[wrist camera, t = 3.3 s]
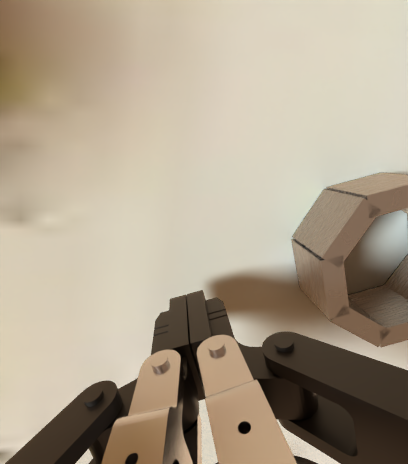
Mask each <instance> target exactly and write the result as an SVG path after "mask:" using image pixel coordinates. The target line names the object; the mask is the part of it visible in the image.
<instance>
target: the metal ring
mask: <svg viewBox="0 0 408 464" xmlns="http://www.w3.org/2000/svg"><path fill="white" fill-rule="evenodd" d="M398 210H403V211H404V212H405V213H407V219H408V175H403V174H391V173H378V174H374V175H370V176H366V177H363V178H359V179H355V180H351V181H348V182H344V183H340V184H336V185H333V186H329V187H327V190H326V189H324V190H323V191H322V193H321V194H320V196H319V197H318V199H317V200H316V202H315V203H314V205H313V206H312V208H311V209H310V211H309V212H308V214H307V215H306V217H305V218H304V220H303V221H302V223H301V224H300V226H299V227H298V229H297V230H296V232H295V233H294V235H293V236H292V237H293V238H295V239H291V240H292V246H293V252H294V257H295V263H296V269H297V275H298V280H299V286H300V288H301V290H302V291H303V292H304V293H305V294H306V295H307V296H308V297H309V299H310V300H311V301H312V302H313V303H314V304H315V305H316V306H317V307H318V308H319V309H320V310H321V311H322V313H323V314H324V315H325V316H326V317H327V318H328V319H329V320H330V321H331V322H332V323H334V324H336V325H338V326H340V327H342V328H343V329H345V330H347V331H349V332H351V333H353V334H355V335H357V336H358V337H360V338H362V339H364V340H366V341H368V342H370V343H371V344H373V345H375V346H377V347H379V346H380V347H384V346H387V345H391V344H394V343H398V342H402V341H405V340H408V255H407V256H406V257H405V258H404V260H403V261H402V262H401V264H400V265H399V266H398V268H397V269H396V270H395V271H394V273H393V274H392V275H391V277H390V278H389V279H388V281H387V282H386V283H385V285H383V286H379V287H375V288H372V289H368V290H365V291H361V292H357V293H354V294H350V295H348V293H347V285H346V277H345V269H344V261H345V259H346V258H347V257H348V255H349V254H350V252H351V251H352V250H353V248H354V247H355V245H356V244H357V243H358V241H359V240H360V239H361V237H362V236H363V234H364V233H365V232H366V230H367V229H368V228H369V226H370V225H371V223H372V222H373V221H374V219H375V218H376V216H380V215H384V214H387V213H391V212H395V211H398Z"/></svg>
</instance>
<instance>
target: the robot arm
mask: <svg viewBox="0 0 408 464" xmlns="http://www.w3.org/2000/svg"><path fill="white" fill-rule="evenodd" d="M154 329H155V330H154V336H153V344H152V351H151V356H150V357H148V358H147V359H146V360H145V361H144V363H143V364H142V366H141V369H140V372H139V376H138V378H137V379H135V380H134V381H132V382H130V383H129V384H127V385H125V386H123V387H121V388H119V389H117V386H116V384H115V383H114V382H112V381H101V382H98V383H95V384H93V385H91V386H90V387H88V388H87V389H85V390H84V391H83V392H82V393H81V394H80V395H78V396H77V397H76V398H75V399H74V400H73V401H72V402H71V403H70V404H69V405H68V406H67V407H66V408H64V409H63V410H62V411H61V412H60V413H59V414H58V415H57V416H56V417H55V418H54V419H53V420H52V421H50V422H49V423H48V424H47V425H46V426H45V427H44V428H43V429H42V430H41V431H40V432H39V433H38V434H36V435H35V436H34V437H33V438H32V439H31V440H30V441H29V442H28V443H27V444H26V445H25V446H24V447H23V448H21V449H20V450H19V451H18V452H17V453H16V454H15V455H14V456H13V457H12V458H11V459H10V460H9V461H7V462H6V463H5V464H75V463H76V462H77V461H78V460H79V459H80V457H81V456H82V455H83V454H84V453H85V452H86V451H87V450H88V448H89V450H90V452H91V454H92V456H93V459H92V460H91V462H90V463H89V464H202V442H201V418H200V415H199V402H198V401H199V400H203V399H205V402H206V407H207V411H208V416H209V421H210V426H211V430H212V435H213V440H214V445H215V449H216V454H217V459H218V463H216V464H317V463H315V462H313V461H310V460H308V459H305V458H302V457H298V456H293V454H292V452H291V450H290V448H289V446H288V444H287V441H286V439H285V437H284V435H283V433H282V431H281V429H280V427H279V424H278V422H277V420H276V419H279V422H280V423H281V425H282V426H283V427H284V428H285V429H287V430H288V431H290V432H291V433H293V434H294V435H296V436H297V437H299V438H301V439H302V440H304V441H305V442H307V443H309V444H310V445H312V446H313V447H315V448H317V449H318V450H320V451H321V452H323V453H325V454H326V455H328V456H329V457H331V458H333V459H334V460H336V461H337V462H339V463H341V464H408V370H405V369H402V368H399V367H396V366H393V365H390V364H387V363H384V362H381V361H378V360H375V359H372V358H369V357H366V356H363V355H360V354H357V353H354V352H351V351H348V350H345V349H342V348H339V347H336V346H333V345H330V344H327V343H324V342H321V341H318V340H315V339H312V338H309V337H306V336H303V335H300V334H297V333H293V332H278V333H275V334H273V335H271V336H269V337H268V338H267V339H266V340H265V341H264V342H263V345H262V347H248V346H244V345H242V344H240V343H238V342H237V341H236V340H235V338H234V335H233V332H232V329H231V326H230V322H229V319H228V316H227V313H226V310H225V307H224V304H223V302H222V301H221V300H219V299H218V298H213V299H209V300H205V296H204V293H203V290H201V291H197V292H193V293H190V294H187V296H186V295H183V296H179V297H175V298H172V299H170V308H169V311H166V312H162V313H161V314H160V315H159V316H158V318H157V319H156V321H155V328H154ZM205 394H206V397H205Z"/></svg>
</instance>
